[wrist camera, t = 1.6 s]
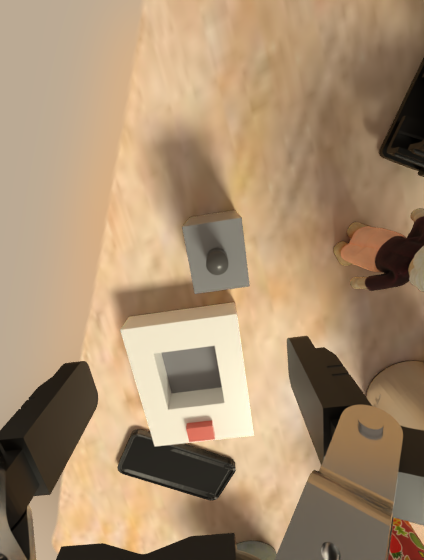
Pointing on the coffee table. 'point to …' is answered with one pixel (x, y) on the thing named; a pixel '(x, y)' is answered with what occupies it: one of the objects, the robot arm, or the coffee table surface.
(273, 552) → the green cup
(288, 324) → the coffee table surface
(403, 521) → the smoothie
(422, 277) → the grandmother figurine
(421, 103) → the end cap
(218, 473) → the phone
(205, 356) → the socket plate
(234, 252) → the plug
